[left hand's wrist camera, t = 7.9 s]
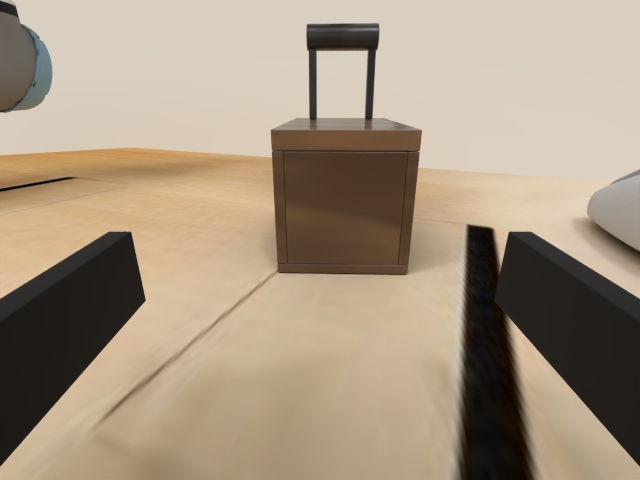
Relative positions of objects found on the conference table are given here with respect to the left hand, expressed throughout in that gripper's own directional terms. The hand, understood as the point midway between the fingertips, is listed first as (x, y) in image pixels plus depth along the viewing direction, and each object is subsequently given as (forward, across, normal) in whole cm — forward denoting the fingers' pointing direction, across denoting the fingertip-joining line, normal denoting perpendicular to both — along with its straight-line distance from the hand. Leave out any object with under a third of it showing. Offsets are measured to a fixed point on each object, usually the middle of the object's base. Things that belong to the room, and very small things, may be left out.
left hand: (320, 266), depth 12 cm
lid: (+20, +2, +2) cm, 21 cm away
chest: (+20, +2, -6) cm, 21 cm away
